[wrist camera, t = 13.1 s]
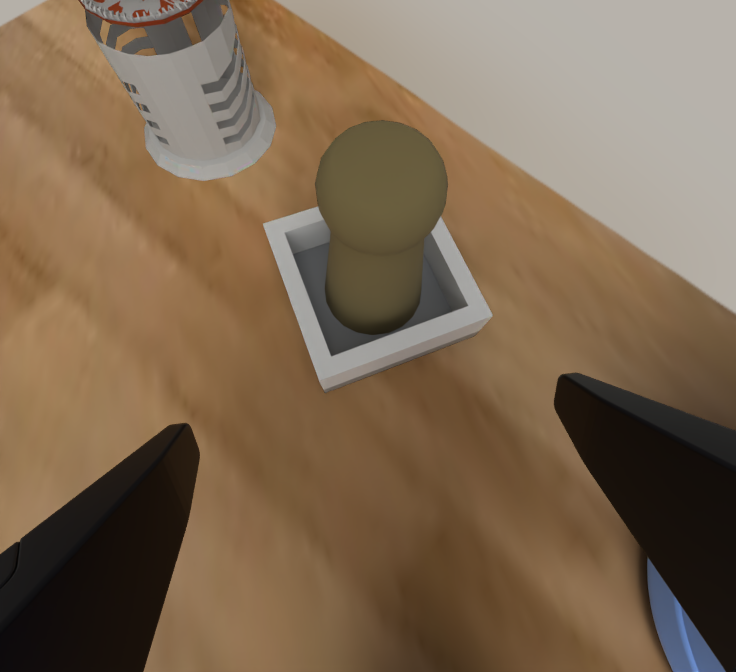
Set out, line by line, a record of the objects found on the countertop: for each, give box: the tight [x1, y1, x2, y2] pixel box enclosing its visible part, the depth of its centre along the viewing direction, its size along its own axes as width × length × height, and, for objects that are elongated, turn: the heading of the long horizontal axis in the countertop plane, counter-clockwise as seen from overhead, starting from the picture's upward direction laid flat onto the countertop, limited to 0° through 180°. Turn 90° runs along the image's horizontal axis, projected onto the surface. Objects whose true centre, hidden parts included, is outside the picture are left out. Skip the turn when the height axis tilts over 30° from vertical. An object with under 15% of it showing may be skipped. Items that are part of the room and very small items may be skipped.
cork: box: [315, 120, 448, 335], centre depth 19 cm, size 6×6×11 cm
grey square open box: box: [263, 207, 493, 393], centre depth 24 cm, size 10×10×4 cm
